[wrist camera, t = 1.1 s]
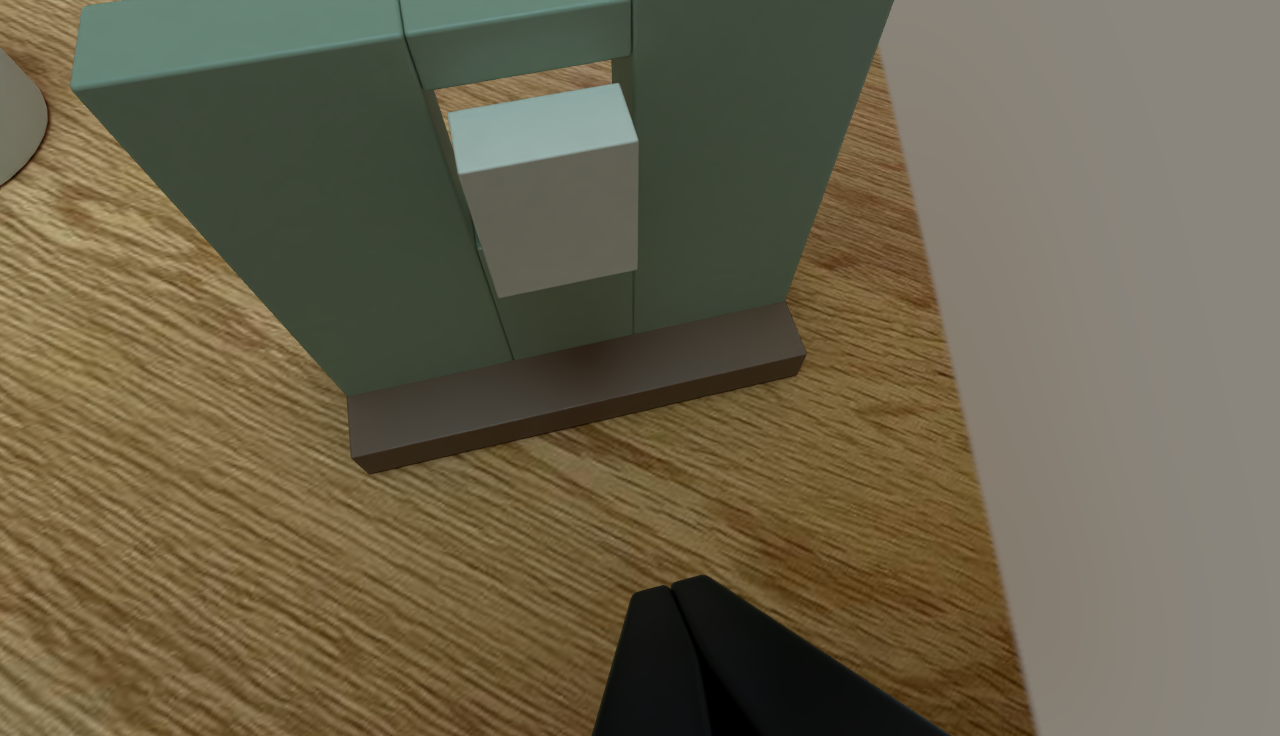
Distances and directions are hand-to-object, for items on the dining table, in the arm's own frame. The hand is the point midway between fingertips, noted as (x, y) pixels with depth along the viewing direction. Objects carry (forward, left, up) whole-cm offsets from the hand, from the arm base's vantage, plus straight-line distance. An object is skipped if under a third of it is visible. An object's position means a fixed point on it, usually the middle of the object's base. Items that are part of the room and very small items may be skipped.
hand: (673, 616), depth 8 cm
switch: (+7, -5, -5) cm, 10 cm away
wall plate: (+10, -6, -13) cm, 17 cm away
